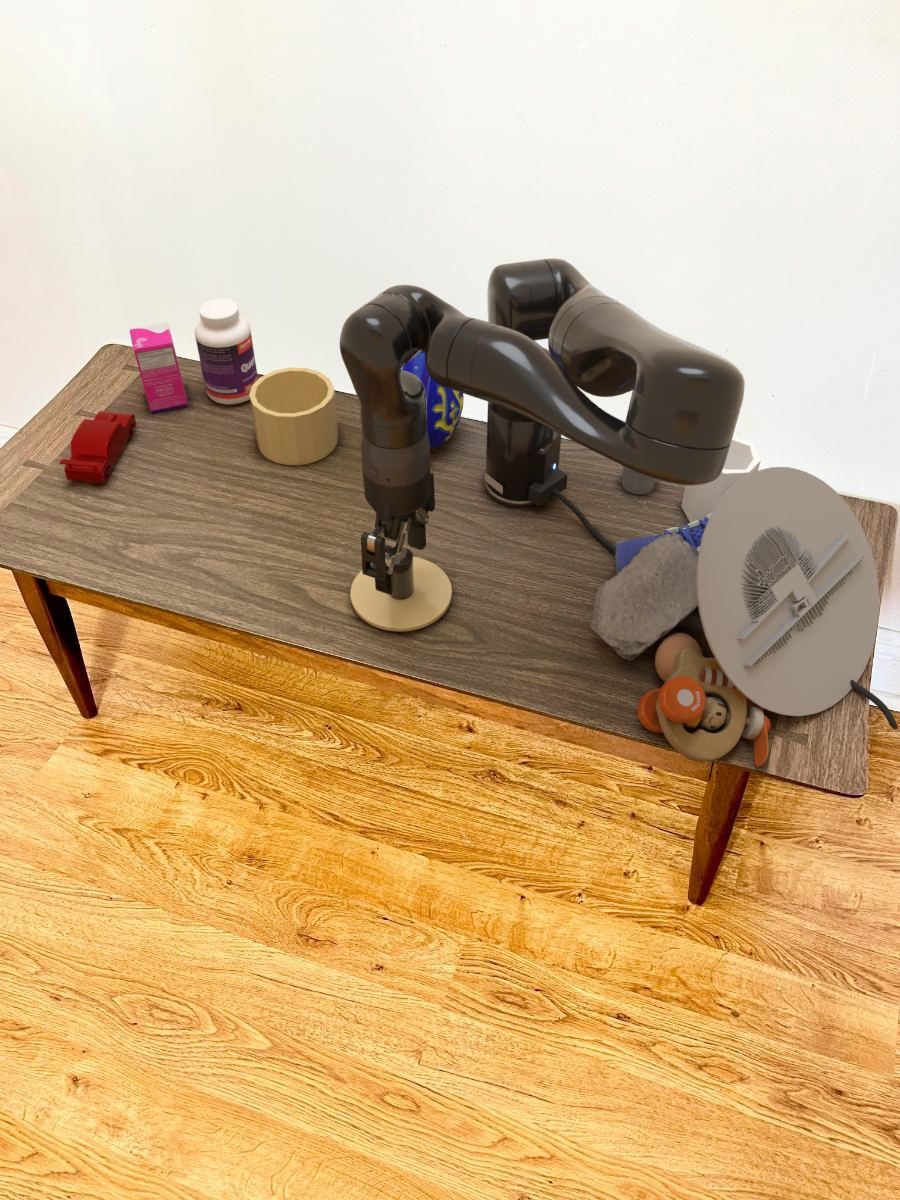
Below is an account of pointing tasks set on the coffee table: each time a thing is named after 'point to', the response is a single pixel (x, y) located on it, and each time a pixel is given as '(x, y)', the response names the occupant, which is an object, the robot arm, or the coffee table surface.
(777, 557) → the plate
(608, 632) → the stone
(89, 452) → the toy car
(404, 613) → the lid
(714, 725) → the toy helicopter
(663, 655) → the egg
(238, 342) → the pill bottle
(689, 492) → the mug
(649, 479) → the grey hollow tube
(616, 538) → the coffee table surface
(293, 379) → the pot
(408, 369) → the ornament
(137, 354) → the supplement box
